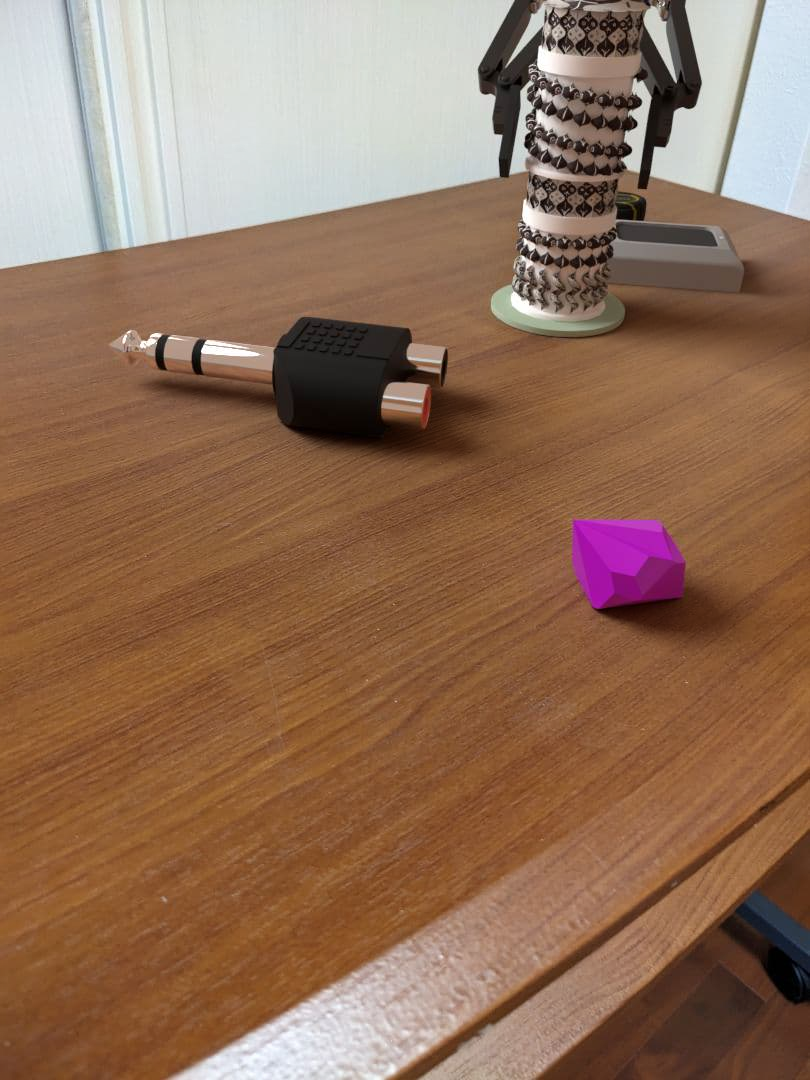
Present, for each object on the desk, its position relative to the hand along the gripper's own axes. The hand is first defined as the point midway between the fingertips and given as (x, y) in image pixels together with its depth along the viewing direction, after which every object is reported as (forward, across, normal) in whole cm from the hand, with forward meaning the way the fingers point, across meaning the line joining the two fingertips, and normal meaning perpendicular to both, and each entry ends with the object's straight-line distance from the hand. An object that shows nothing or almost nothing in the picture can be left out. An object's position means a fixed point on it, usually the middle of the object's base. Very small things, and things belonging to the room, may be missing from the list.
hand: (572, 174), depth 74 cm
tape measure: (-11, -3, -29) cm, 32 cm away
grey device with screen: (-3, -9, -21) cm, 23 cm away
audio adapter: (+23, +19, +5) cm, 31 cm away
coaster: (+7, 0, -11) cm, 13 cm away
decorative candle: (+6, 0, -11) cm, 12 cm away
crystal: (+35, -7, +17) cm, 40 cm away
